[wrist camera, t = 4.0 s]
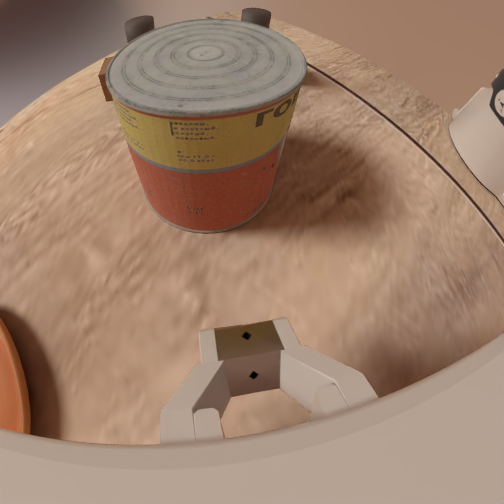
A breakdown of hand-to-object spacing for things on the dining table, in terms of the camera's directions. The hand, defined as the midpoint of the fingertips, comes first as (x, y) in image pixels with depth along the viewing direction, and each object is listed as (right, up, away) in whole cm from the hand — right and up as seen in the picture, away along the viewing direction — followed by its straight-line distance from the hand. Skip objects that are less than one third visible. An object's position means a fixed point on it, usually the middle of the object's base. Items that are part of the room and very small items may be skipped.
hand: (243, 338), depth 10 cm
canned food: (-4, +10, +14) cm, 18 cm away
